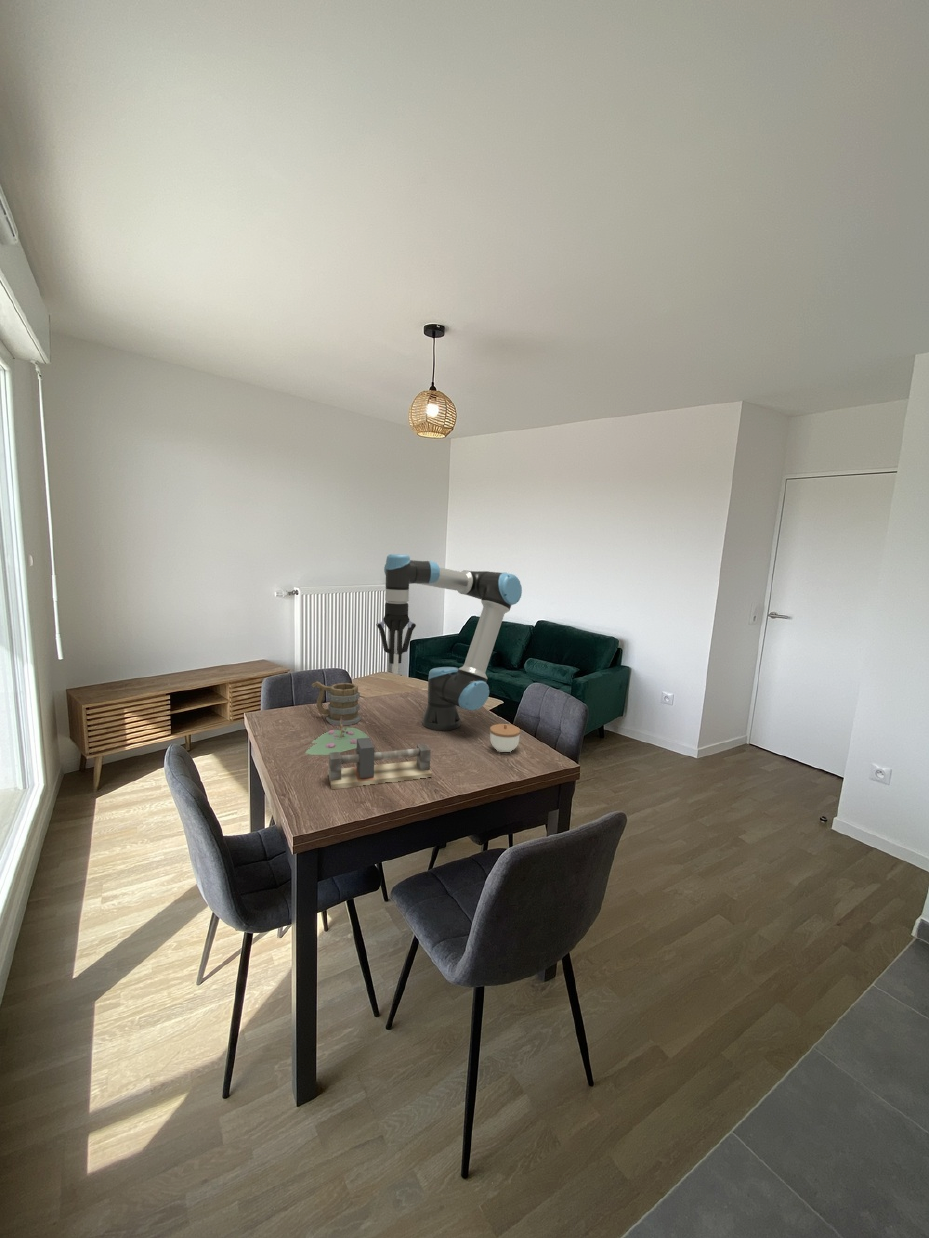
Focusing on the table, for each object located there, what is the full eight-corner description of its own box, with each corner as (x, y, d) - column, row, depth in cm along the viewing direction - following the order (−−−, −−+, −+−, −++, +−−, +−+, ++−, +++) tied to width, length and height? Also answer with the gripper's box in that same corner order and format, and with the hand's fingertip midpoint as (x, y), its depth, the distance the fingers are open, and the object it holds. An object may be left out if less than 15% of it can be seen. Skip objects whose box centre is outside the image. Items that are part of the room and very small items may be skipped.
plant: (344, 762, 165) (345, 736, 164) (290, 752, 171) (290, 727, 170) (378, 736, 189) (379, 713, 188) (329, 728, 195) (330, 705, 193)
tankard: (365, 717, 207) (365, 681, 205) (351, 727, 195) (351, 689, 193) (320, 711, 212) (320, 676, 210) (304, 721, 200) (304, 684, 198)
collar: (369, 765, 158) (370, 737, 156) (373, 776, 150) (374, 747, 149) (356, 767, 156) (356, 738, 155) (360, 778, 149) (360, 748, 148)
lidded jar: (523, 747, 183) (524, 722, 181) (513, 758, 173) (514, 732, 172) (495, 741, 187) (496, 717, 186) (484, 751, 177) (485, 726, 176)
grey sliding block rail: (423, 764, 165) (424, 740, 164) (431, 777, 156) (432, 753, 154) (328, 774, 155) (328, 749, 154) (331, 789, 145) (331, 763, 144)
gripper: (413, 601, 170) (411, 669, 173) (374, 600, 166) (373, 671, 169) (419, 603, 163) (416, 675, 166) (378, 603, 159) (377, 676, 162)
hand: (394, 672), depth 168 cm, fingers closed
